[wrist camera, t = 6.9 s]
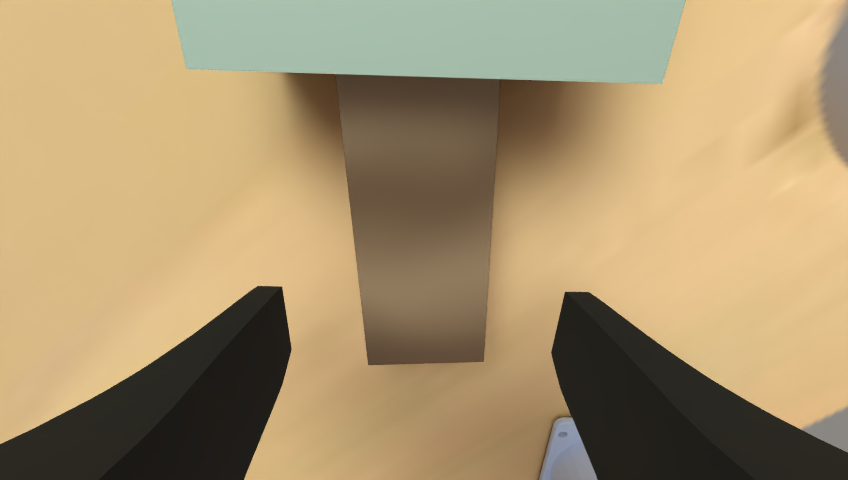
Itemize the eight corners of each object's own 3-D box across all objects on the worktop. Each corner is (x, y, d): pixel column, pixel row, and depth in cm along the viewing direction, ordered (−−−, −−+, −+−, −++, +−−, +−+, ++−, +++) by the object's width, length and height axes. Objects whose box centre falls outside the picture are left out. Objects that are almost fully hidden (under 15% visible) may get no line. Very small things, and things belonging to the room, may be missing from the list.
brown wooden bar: (470, 295, 20) (483, 361, 16) (377, 298, 20) (368, 365, 16) (483, -57, 14) (510, -86, 10) (345, -53, 14) (317, -82, 10)
